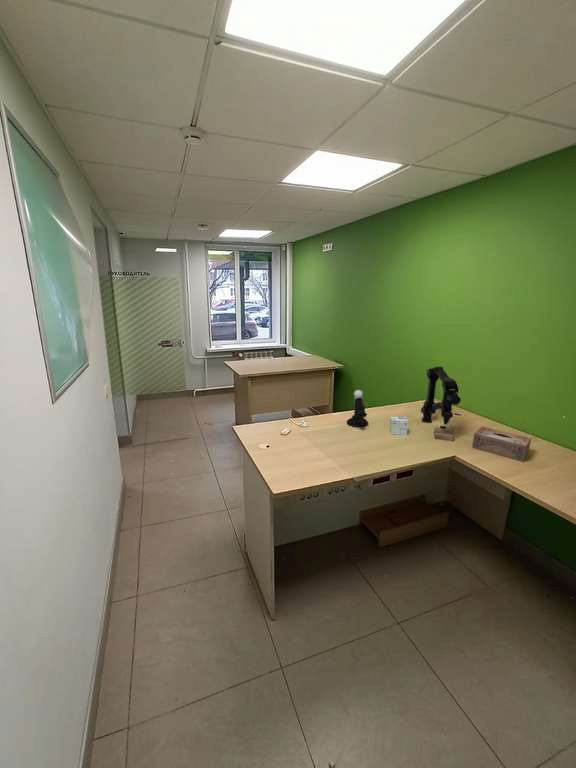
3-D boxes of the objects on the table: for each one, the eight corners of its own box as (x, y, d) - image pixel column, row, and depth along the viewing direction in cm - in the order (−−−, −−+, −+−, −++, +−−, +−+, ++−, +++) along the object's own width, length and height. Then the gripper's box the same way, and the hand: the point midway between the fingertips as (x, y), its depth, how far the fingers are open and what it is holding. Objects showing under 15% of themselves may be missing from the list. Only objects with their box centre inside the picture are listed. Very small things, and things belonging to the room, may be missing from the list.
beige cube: (440, 422, 219) (441, 414, 217) (448, 423, 217) (449, 415, 215) (440, 425, 214) (441, 417, 213) (449, 426, 212) (450, 417, 211)
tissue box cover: (472, 448, 202) (474, 433, 199) (479, 440, 212) (481, 426, 209) (522, 462, 184) (525, 446, 182) (528, 453, 194) (531, 437, 191)
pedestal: (434, 432, 225) (434, 428, 224) (452, 434, 221) (452, 430, 220) (434, 438, 215) (434, 434, 214) (453, 441, 211) (453, 437, 210)
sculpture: (365, 419, 249) (366, 387, 243) (373, 432, 226) (375, 397, 220) (344, 419, 249) (345, 387, 242) (351, 432, 226) (352, 397, 219)
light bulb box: (404, 431, 227) (406, 416, 224) (407, 435, 220) (408, 420, 218) (388, 431, 228) (389, 416, 225) (390, 435, 222) (391, 419, 219)
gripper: (433, 394, 222) (431, 416, 226) (434, 402, 206) (431, 426, 210) (452, 395, 218) (449, 418, 222) (454, 404, 202) (451, 428, 206)
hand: (445, 422), depth 215 cm, fingers closed on beige cube, 5 cm apart
